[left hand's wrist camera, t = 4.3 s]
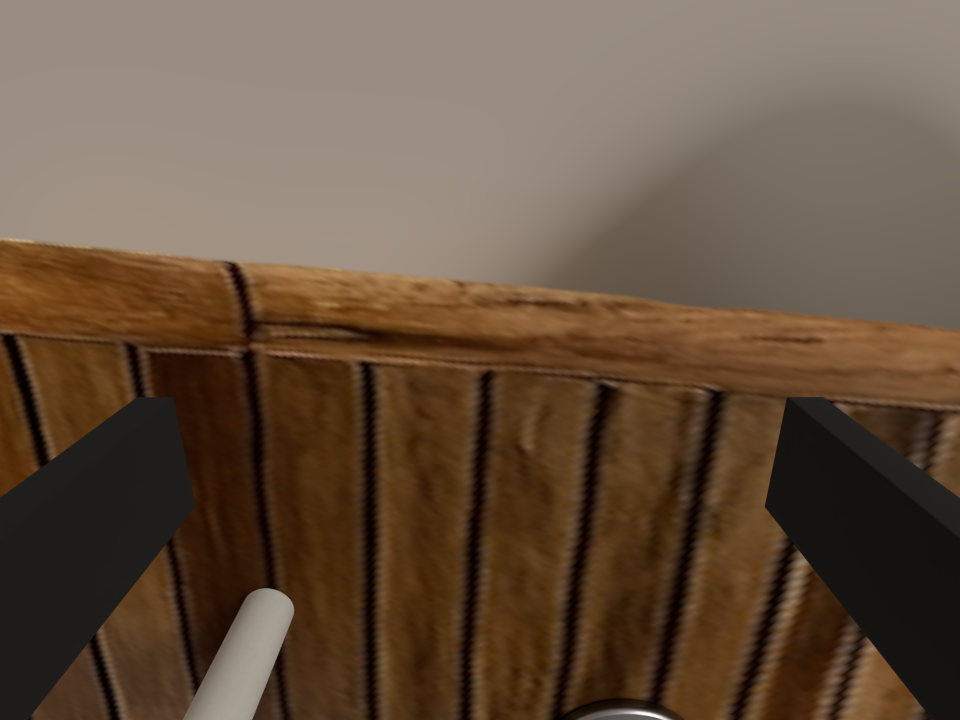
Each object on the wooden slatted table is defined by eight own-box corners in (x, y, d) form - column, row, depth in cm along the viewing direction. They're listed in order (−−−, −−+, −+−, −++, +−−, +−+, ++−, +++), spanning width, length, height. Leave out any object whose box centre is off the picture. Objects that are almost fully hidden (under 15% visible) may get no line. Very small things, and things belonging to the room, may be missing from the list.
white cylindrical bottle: (256, 632, 51) (153, 857, 35) (235, 594, 49) (117, 811, 33) (302, 620, 50) (219, 843, 34) (282, 582, 49) (185, 796, 33)
